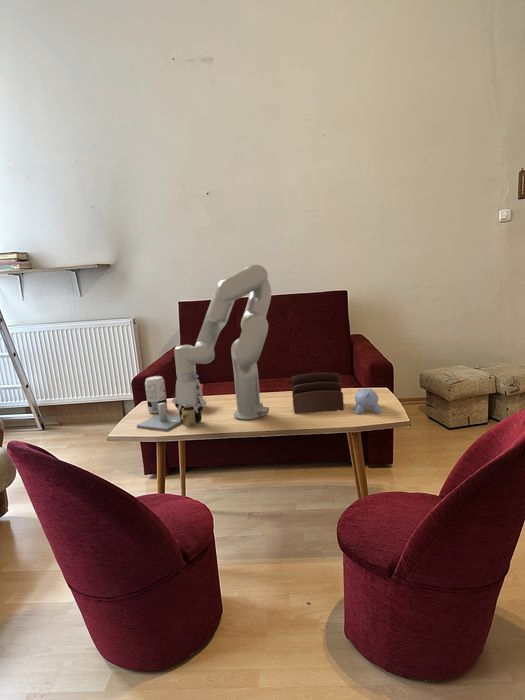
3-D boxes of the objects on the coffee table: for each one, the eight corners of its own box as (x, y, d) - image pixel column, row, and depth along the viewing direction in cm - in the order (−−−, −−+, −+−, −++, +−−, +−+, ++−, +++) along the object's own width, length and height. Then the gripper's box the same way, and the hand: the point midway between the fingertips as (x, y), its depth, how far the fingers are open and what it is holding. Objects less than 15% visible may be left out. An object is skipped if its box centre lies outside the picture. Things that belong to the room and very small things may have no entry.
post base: (190, 418, 184) (188, 399, 183) (166, 431, 171) (164, 411, 170) (161, 415, 191) (159, 397, 190) (136, 427, 178) (134, 408, 177)
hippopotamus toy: (377, 403, 185) (376, 380, 183) (384, 415, 170) (383, 390, 168) (350, 404, 186) (349, 382, 184) (355, 416, 171) (354, 392, 169)
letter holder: (293, 406, 190) (290, 374, 187) (340, 403, 189) (338, 370, 186) (294, 414, 180) (291, 379, 177) (344, 410, 179) (342, 376, 177)
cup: (189, 419, 183) (188, 405, 182) (203, 420, 180) (201, 406, 179) (176, 426, 176) (174, 412, 174) (190, 428, 172) (188, 413, 171)
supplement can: (147, 410, 200) (143, 377, 197) (166, 407, 203) (162, 374, 200) (149, 415, 193) (145, 381, 190) (169, 412, 195) (165, 378, 193)
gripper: (210, 375, 174) (214, 419, 178) (175, 373, 182) (179, 415, 186) (199, 380, 168) (203, 426, 171) (162, 377, 176) (167, 421, 179)
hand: (190, 420), depth 178 cm, fingers closed on cup, 6 cm apart
